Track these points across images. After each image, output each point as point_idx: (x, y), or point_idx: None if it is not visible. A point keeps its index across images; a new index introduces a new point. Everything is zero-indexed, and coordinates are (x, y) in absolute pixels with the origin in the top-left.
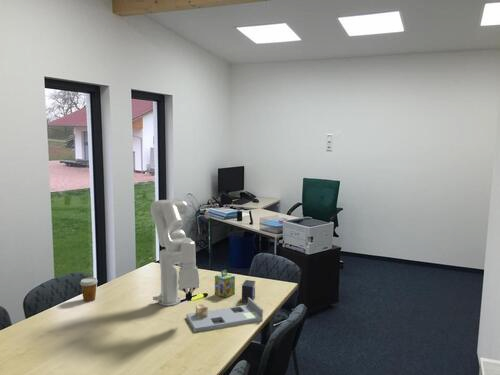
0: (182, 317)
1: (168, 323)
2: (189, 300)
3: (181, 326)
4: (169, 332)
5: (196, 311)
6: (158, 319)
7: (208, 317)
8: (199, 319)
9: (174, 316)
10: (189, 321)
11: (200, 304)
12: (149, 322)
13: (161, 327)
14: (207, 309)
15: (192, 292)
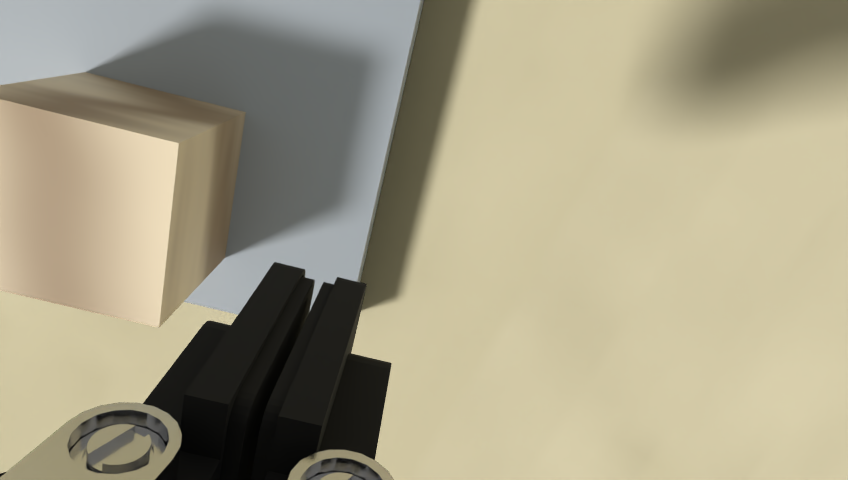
0: (393, 350)
1: (638, 296)
2: (309, 302)
3: (545, 105)
4: (798, 23)
5: (206, 234)
6: (672, 463)
7: (84, 24)
8: (250, 44)
9: (465, 429)
10: (389, 148)
11: (61, 299)
12: (807, 452)
13: (783, 242)
14: (2, 86)
15: (93, 411)
